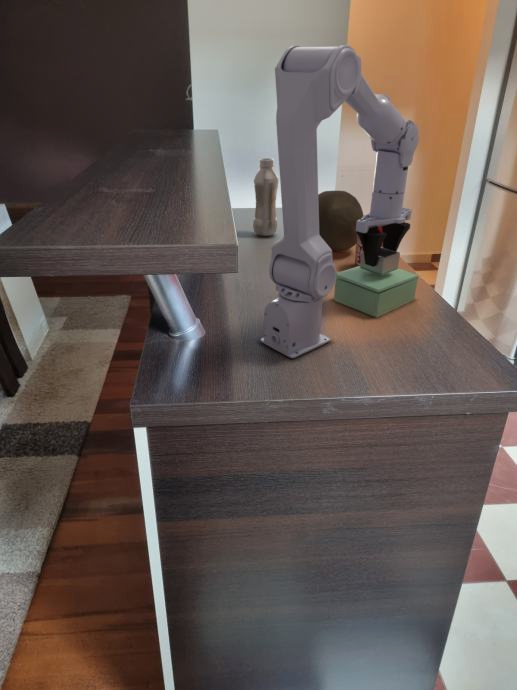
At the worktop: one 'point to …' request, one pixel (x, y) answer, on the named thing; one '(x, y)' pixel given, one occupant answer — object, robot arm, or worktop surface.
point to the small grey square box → (383, 262)
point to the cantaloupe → (338, 219)
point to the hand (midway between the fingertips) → (379, 261)
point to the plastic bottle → (265, 198)
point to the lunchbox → (374, 297)
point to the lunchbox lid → (376, 278)
